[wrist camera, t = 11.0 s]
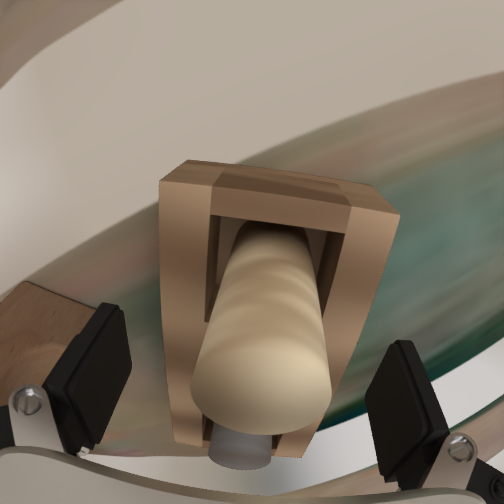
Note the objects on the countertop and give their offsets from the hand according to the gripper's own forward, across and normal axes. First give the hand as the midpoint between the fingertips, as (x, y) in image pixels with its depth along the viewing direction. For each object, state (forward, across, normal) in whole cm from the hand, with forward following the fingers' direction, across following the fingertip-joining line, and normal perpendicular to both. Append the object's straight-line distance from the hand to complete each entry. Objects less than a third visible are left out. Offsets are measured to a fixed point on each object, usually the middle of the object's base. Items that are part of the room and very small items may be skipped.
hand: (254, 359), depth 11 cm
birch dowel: (+8, 0, 0) cm, 8 cm away
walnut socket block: (+9, 0, +6) cm, 11 cm away
